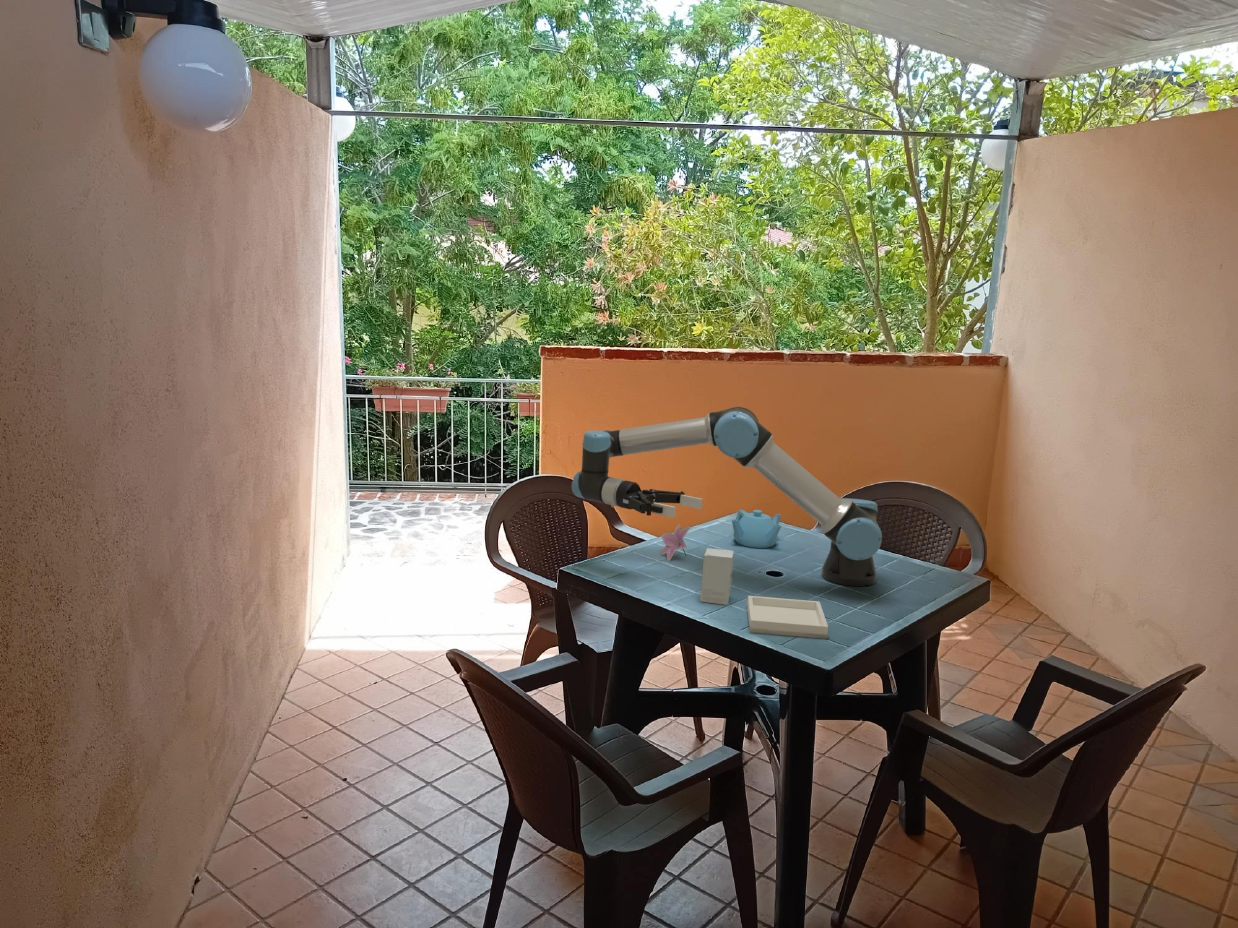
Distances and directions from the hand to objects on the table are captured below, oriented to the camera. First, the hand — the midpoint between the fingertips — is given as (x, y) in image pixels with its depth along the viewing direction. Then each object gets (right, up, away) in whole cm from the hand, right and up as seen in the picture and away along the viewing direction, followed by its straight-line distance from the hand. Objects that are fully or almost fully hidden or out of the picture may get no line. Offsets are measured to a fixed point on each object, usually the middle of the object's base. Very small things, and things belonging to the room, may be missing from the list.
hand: (688, 508), depth 245 cm
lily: (-2, -16, +35) cm, 38 cm away
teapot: (+25, -14, +55) cm, 62 cm away
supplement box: (+7, -24, -1) cm, 25 cm away
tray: (+23, -27, -15) cm, 39 cm away
